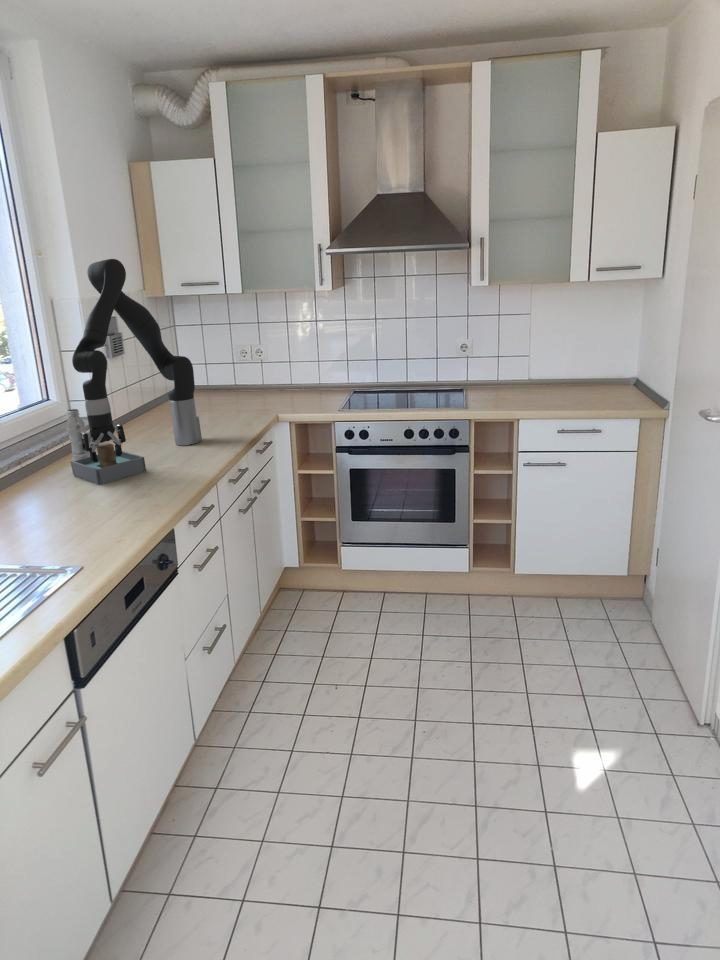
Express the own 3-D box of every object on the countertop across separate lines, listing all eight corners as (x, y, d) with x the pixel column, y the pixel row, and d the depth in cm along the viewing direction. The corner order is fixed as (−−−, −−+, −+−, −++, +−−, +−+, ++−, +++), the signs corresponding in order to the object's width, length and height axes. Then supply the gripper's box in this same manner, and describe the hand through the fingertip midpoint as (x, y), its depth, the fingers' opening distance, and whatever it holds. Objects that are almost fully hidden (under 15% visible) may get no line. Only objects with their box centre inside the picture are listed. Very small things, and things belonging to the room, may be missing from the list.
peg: (112, 471, 241) (107, 442, 238) (118, 473, 238) (113, 444, 235) (101, 474, 238) (96, 445, 235) (107, 476, 236) (102, 447, 233)
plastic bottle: (72, 469, 246) (61, 413, 240) (74, 464, 252) (64, 409, 246) (92, 466, 247) (81, 411, 241) (93, 461, 254) (83, 407, 247)
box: (119, 463, 250) (116, 449, 248) (146, 471, 238) (143, 457, 237) (73, 475, 238) (70, 461, 237) (99, 484, 226) (96, 470, 225)
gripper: (112, 406, 239) (120, 452, 244) (72, 414, 229) (81, 462, 234) (124, 408, 234) (132, 455, 239) (83, 417, 224) (92, 466, 229)
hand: (107, 459), depth 237 cm, fingers open, 8 cm apart
